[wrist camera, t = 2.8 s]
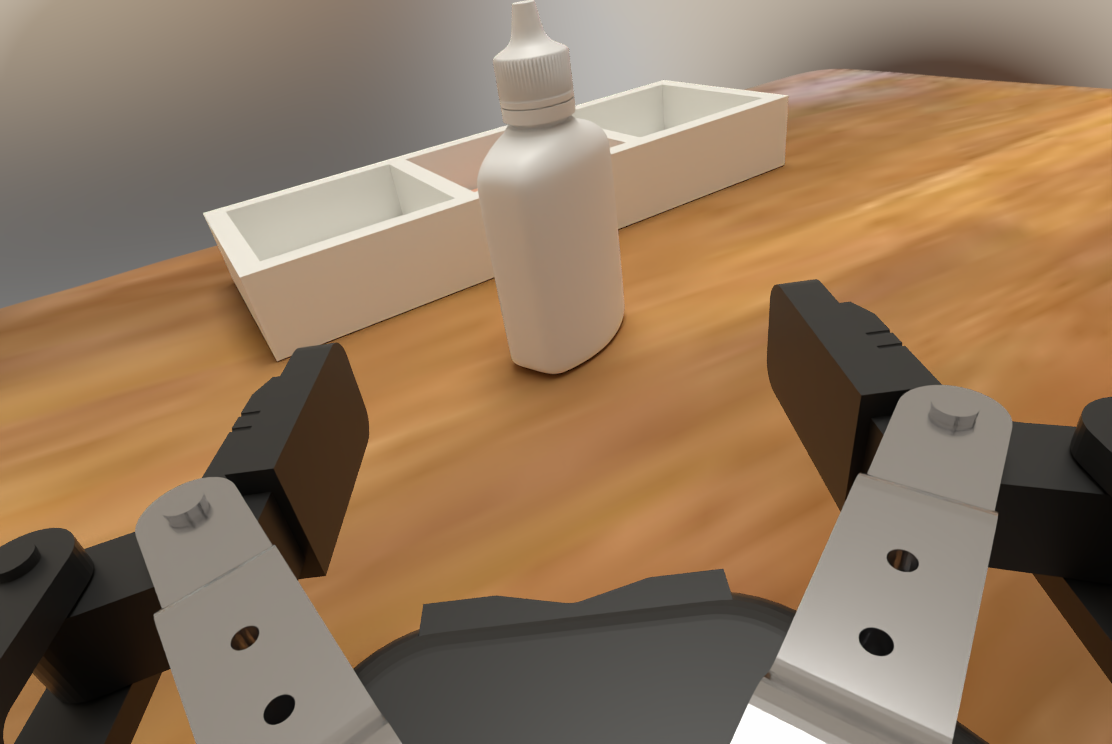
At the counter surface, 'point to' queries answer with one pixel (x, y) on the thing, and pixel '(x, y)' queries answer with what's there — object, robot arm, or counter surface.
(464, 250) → the rack
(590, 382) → the counter surface
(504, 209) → the eye dropper bottle
